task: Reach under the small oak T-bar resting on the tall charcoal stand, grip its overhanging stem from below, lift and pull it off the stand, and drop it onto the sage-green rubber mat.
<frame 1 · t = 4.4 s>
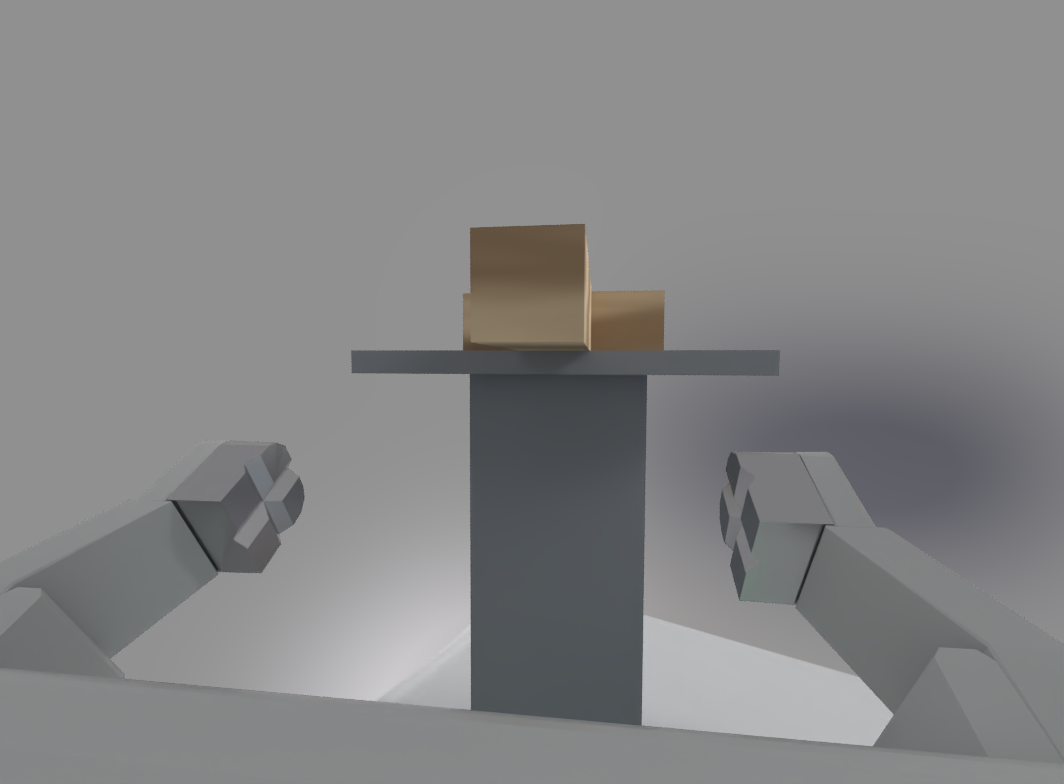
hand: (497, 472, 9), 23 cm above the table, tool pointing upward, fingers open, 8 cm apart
t bar: (560, 352, 25), point 26 cm above the table, touching stand
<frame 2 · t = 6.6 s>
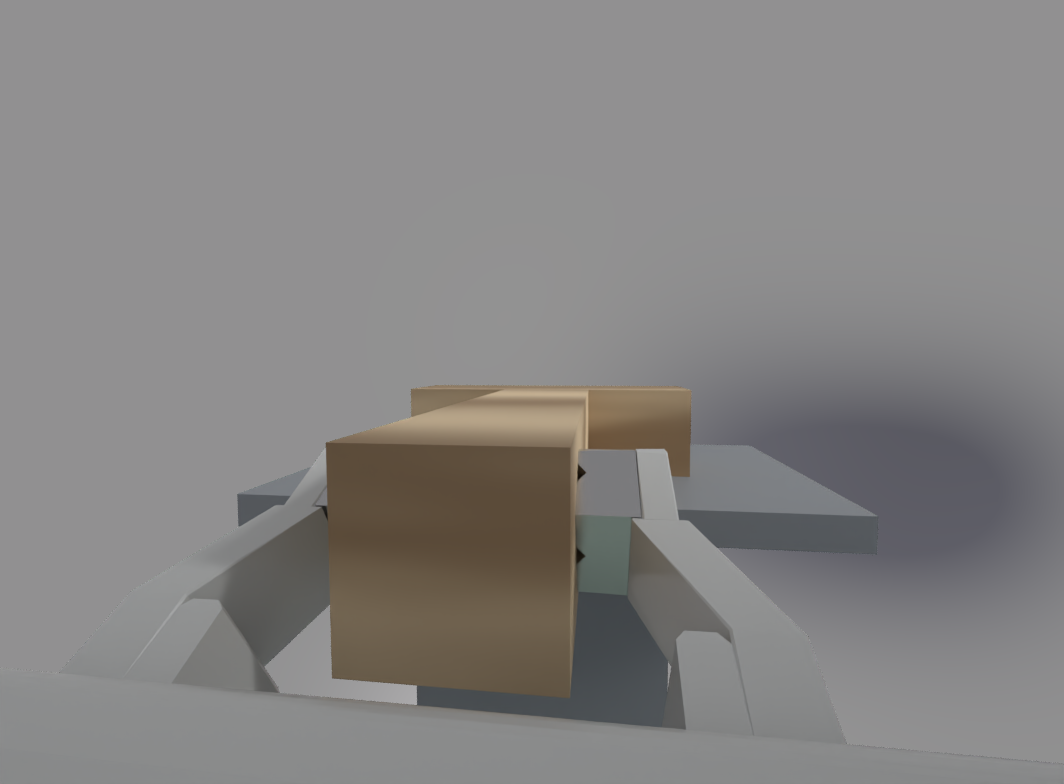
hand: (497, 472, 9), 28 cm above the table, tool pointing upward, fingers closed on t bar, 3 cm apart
t bar: (546, 473, 18), point 26 cm above the table, touching gripper, stand
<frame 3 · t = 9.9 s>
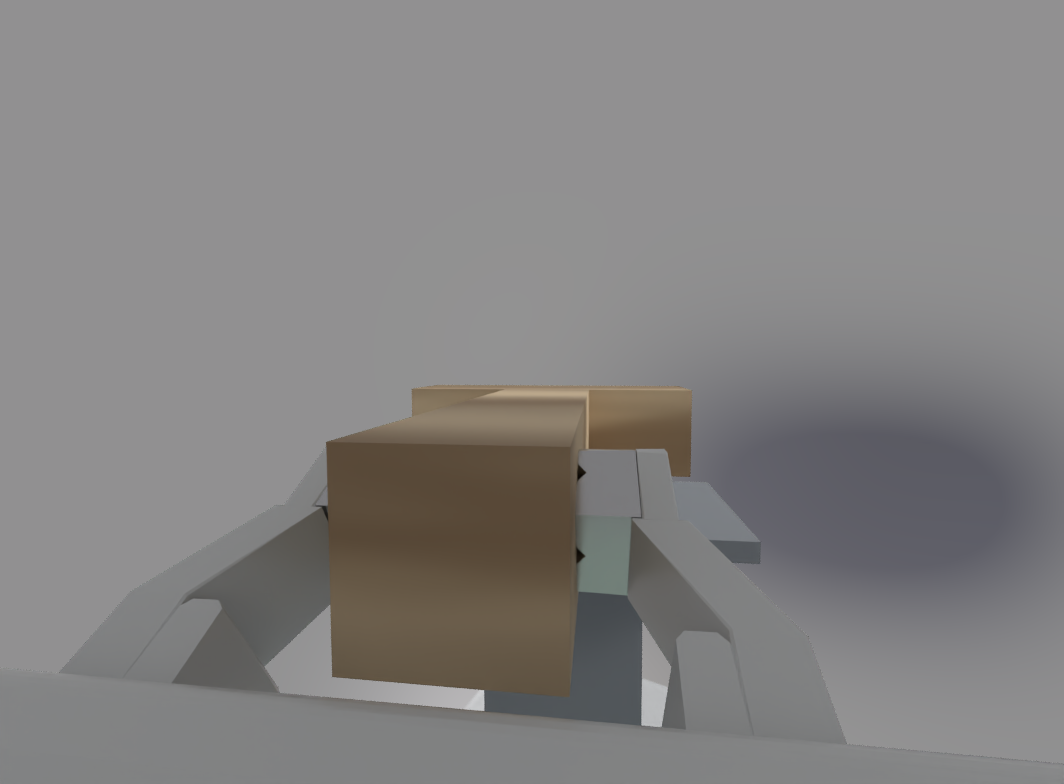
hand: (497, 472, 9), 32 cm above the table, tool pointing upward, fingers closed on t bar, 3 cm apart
t bar: (546, 472, 18), point 30 cm above the table, touching gripper
when the fingers open (19 cm above the table, at t = 13.4 s): t bar drops 17 cm, resting on mat.
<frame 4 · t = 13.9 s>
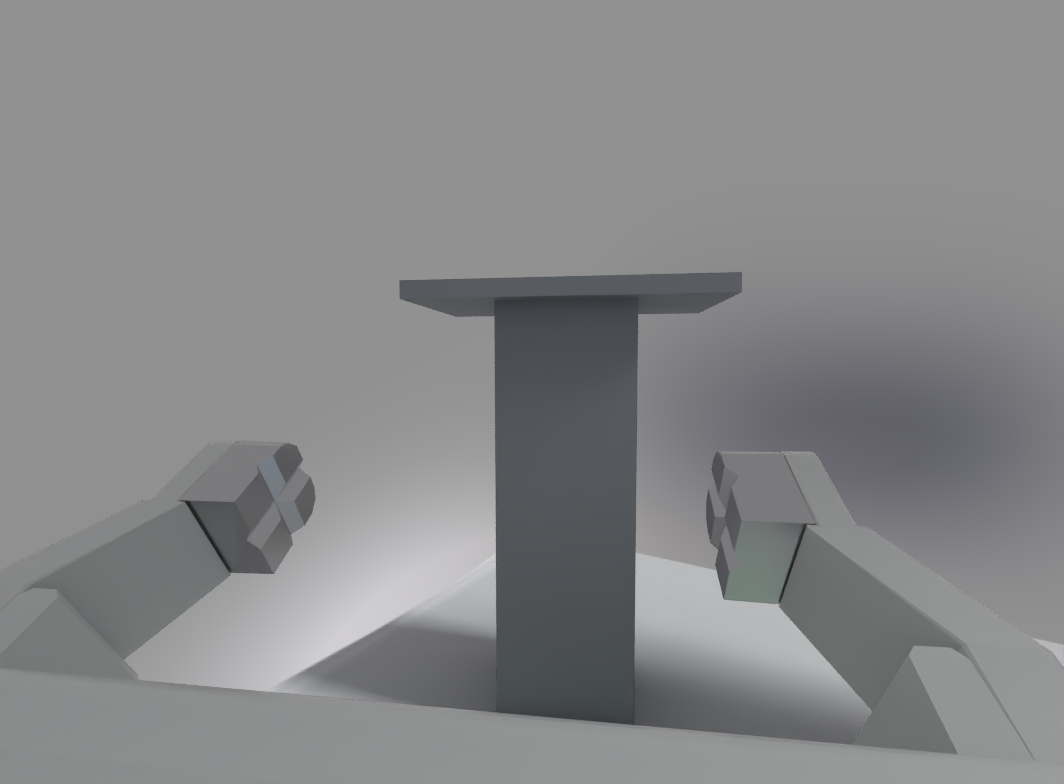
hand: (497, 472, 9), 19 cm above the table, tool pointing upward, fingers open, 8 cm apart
stand: (566, 700, 32), on the table
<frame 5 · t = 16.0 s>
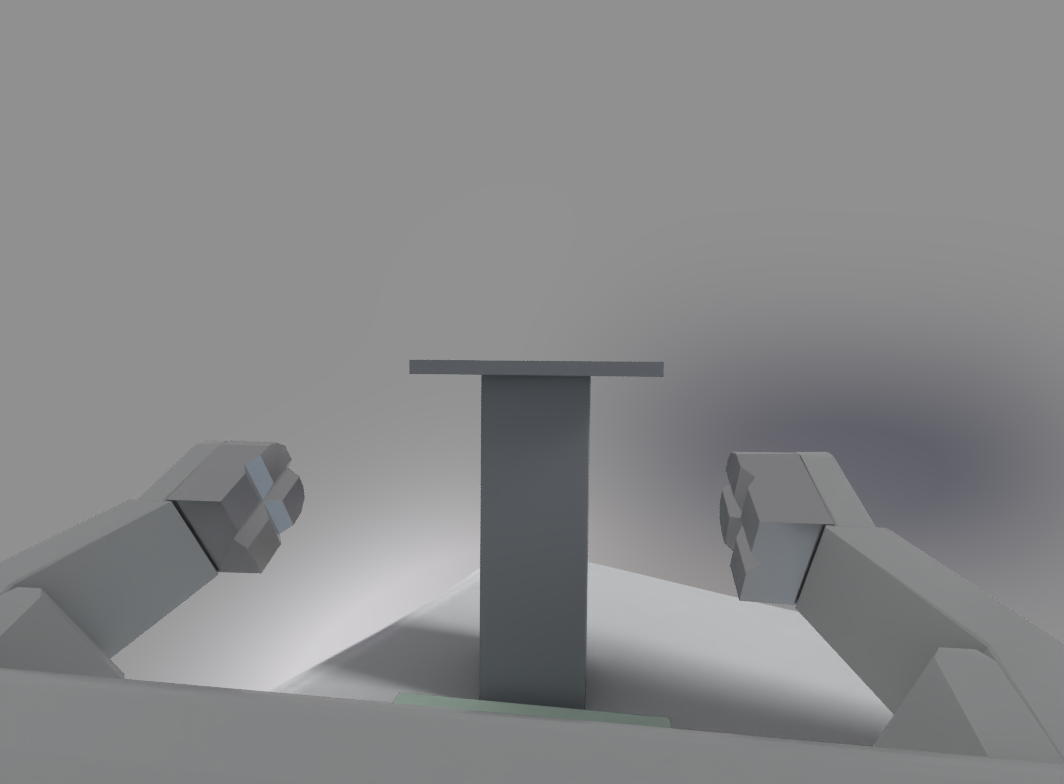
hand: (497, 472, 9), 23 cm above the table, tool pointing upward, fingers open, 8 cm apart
stand: (535, 685, 40), on the table
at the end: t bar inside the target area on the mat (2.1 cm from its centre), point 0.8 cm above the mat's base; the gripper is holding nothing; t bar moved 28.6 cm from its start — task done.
